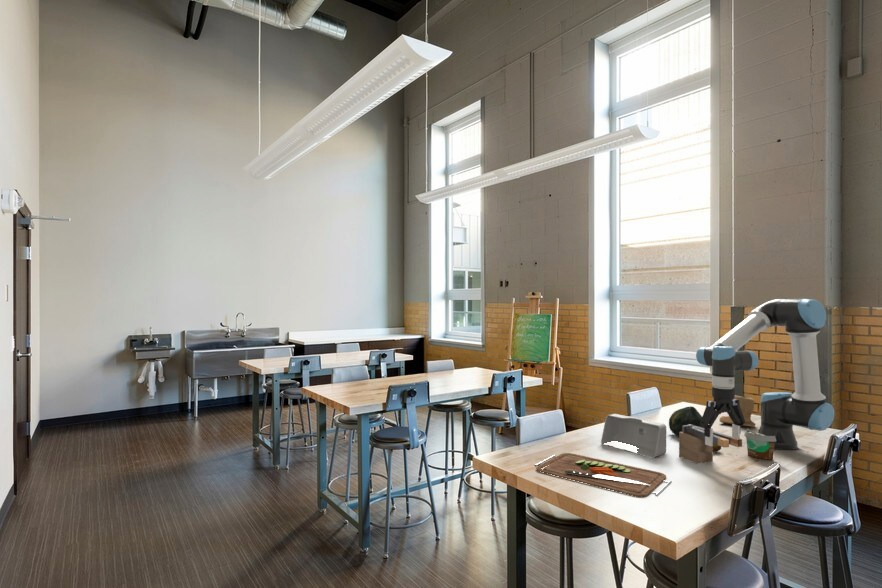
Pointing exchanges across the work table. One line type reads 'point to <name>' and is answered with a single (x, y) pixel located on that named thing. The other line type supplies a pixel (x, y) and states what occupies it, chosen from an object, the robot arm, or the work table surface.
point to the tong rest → (700, 446)
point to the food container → (760, 445)
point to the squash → (684, 419)
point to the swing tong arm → (700, 433)
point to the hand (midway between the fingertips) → (722, 443)
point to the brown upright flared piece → (746, 408)
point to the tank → (636, 434)
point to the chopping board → (604, 474)
